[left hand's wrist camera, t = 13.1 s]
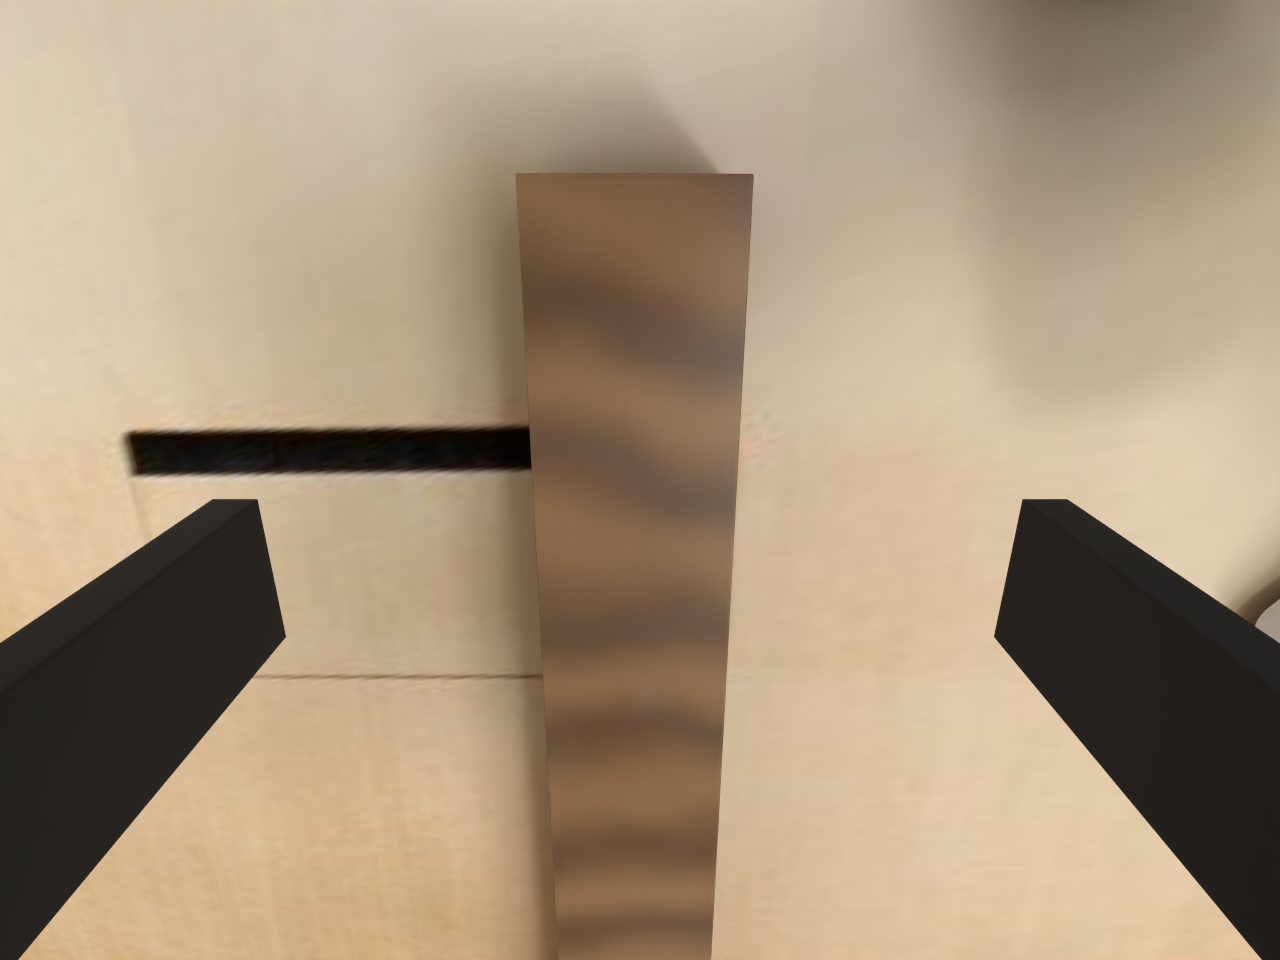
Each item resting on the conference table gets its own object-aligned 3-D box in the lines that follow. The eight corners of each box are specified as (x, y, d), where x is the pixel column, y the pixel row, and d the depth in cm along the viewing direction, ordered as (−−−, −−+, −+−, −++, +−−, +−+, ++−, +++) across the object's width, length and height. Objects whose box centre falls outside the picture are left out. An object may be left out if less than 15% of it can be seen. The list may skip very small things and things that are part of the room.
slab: (541, 181, 33) (515, 173, 26) (728, 182, 33) (754, 173, 26) (579, 1075, 56) (571, 1201, 49) (690, 1074, 56) (698, 1199, 49)
